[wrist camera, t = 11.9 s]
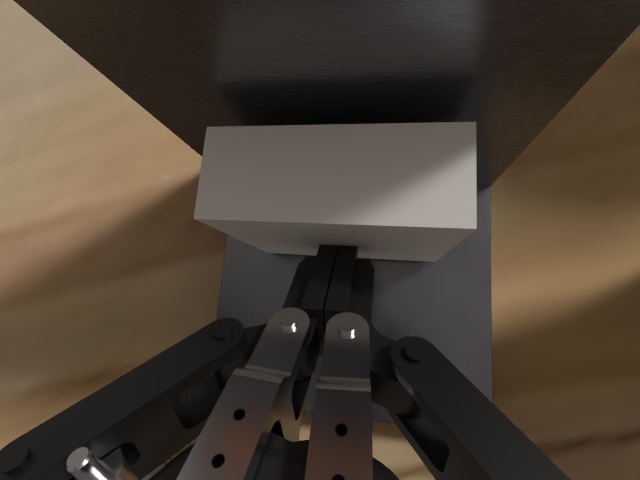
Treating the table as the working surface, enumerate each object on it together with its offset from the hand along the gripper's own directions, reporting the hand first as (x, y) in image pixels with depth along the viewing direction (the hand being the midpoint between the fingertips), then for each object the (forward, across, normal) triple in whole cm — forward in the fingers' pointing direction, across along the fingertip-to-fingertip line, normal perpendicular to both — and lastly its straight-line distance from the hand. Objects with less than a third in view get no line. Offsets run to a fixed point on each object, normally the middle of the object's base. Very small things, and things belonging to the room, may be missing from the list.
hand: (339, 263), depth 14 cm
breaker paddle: (+3, 0, 0) cm, 3 cm away
